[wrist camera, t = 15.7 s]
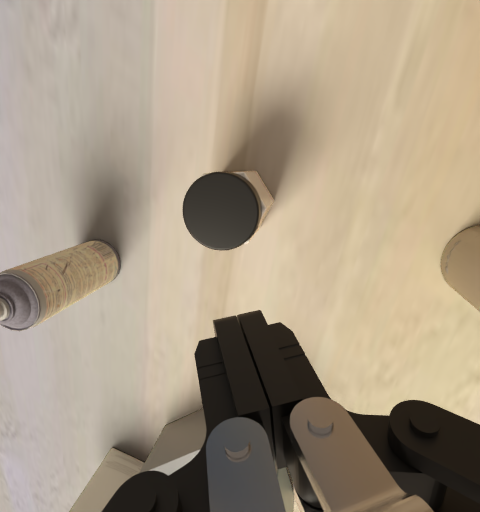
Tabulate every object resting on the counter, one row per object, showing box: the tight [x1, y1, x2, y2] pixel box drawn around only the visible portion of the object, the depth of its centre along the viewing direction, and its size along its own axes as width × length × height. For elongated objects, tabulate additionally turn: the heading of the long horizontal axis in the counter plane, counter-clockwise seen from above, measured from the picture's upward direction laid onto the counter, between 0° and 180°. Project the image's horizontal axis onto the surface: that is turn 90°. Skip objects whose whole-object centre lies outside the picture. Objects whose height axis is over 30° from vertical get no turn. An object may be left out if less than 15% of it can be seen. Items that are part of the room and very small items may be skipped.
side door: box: [274, 460, 294, 512], centre depth 52 cm, size 20×1×10 cm, turn 16°
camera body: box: [139, 409, 206, 476], centre depth 53 cm, size 16×9×11 cm, turn 122°
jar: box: [183, 171, 274, 250], centre depth 43 cm, size 9×8×12 cm
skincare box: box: [69, 448, 144, 512], centre depth 56 cm, size 8×7×16 cm
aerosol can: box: [0, 240, 120, 331], centre depth 45 cm, size 7×7×20 cm
